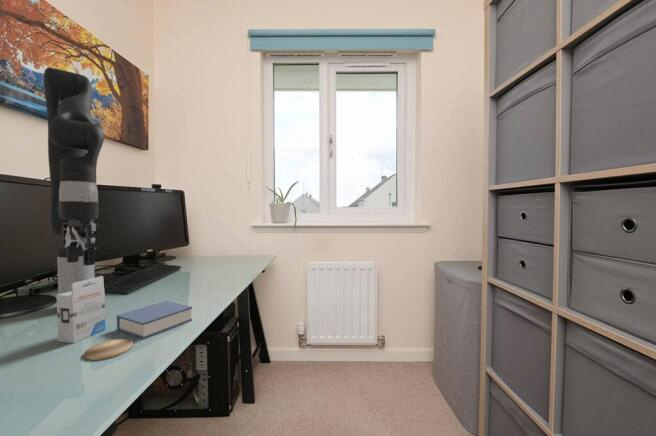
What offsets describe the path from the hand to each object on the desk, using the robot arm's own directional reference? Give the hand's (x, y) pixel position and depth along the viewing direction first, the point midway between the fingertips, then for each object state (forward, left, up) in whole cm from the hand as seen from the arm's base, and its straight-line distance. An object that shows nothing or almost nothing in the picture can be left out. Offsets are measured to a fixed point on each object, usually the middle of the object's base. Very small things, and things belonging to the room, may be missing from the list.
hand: (80, 263), depth 75 cm
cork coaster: (+15, -1, -19) cm, 24 cm away
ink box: (0, 0, -19) cm, 19 cm away
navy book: (+10, +13, -19) cm, 25 cm away
